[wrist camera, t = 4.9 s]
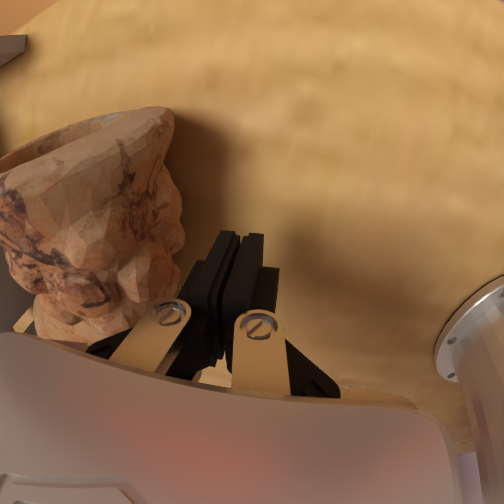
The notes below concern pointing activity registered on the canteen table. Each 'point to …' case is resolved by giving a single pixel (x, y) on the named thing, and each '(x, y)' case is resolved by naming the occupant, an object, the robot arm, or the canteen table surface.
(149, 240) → the clay pipe
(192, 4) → the canteen table surface
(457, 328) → the robot arm
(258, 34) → the canteen table surface
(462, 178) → the canteen table surface
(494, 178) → the canteen table surface
